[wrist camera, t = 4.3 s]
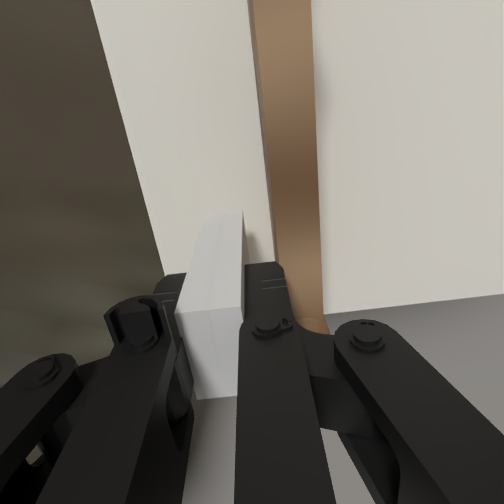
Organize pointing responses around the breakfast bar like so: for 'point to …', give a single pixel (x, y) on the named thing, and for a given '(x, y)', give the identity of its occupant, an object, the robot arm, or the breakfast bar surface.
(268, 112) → the bar
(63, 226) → the breakfast bar surface
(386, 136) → the card
